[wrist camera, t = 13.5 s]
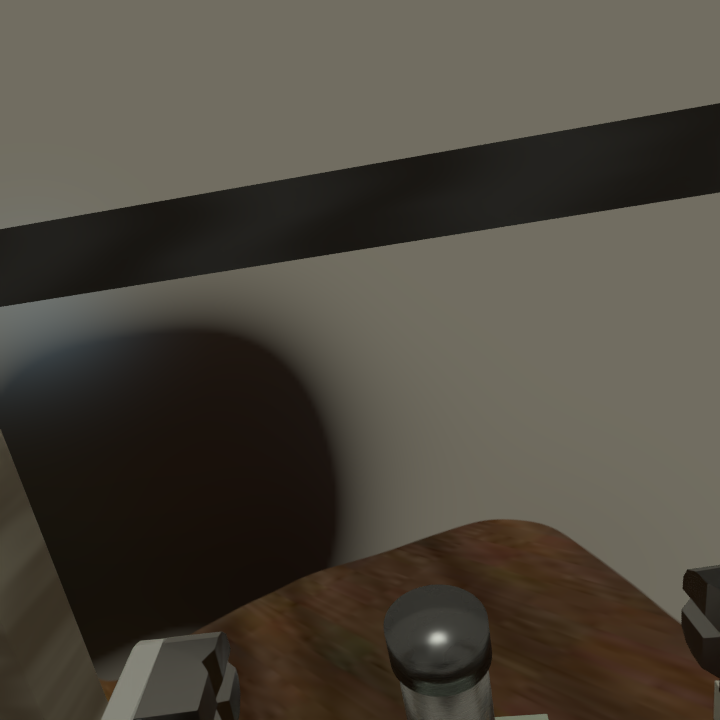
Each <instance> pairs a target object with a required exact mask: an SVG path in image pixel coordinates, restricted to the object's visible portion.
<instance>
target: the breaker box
mask: <svg viewBox="0 0 720 720" xmlns="http://www.w3.org/2000/svg"><path fill="white" fill-rule="evenodd" d="M714 720H720V692H719V681H715V693H714Z"/></svg>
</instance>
